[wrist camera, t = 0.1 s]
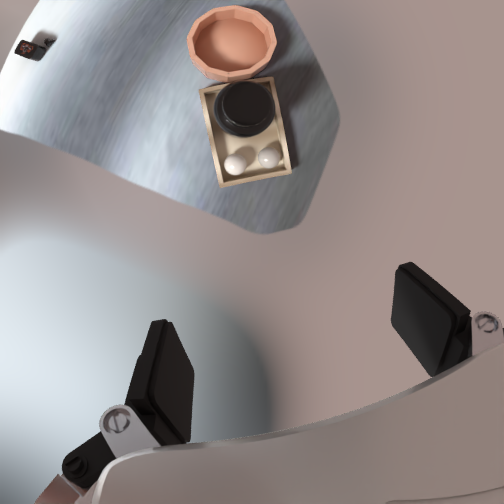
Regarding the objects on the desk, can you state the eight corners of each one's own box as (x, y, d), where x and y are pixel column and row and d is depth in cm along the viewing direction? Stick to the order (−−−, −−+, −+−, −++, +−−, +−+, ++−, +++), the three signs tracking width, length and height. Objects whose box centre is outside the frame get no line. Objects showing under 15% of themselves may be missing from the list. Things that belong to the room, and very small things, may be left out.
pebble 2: (254, 148, 37) (257, 149, 34) (275, 145, 37) (279, 145, 34) (258, 169, 38) (261, 171, 35) (279, 165, 38) (283, 167, 35)
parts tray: (199, 92, 33) (198, 89, 31) (270, 79, 33) (273, 76, 31) (220, 185, 38) (220, 187, 37) (288, 171, 39) (291, 173, 37)
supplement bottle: (259, 88, 33) (274, 66, 22) (270, 133, 36) (290, 130, 25) (210, 98, 33) (205, 80, 22) (222, 143, 36) (220, 144, 25)
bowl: (185, 25, 28) (182, 15, 25) (262, 13, 28) (266, 2, 25) (198, 89, 33) (195, 84, 29) (277, 76, 33) (283, 69, 29)
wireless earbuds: (42, 63, 26) (33, 60, 23) (23, 55, 24) (13, 52, 21) (56, 40, 25) (47, 36, 22) (35, 34, 23) (26, 30, 20)
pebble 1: (222, 155, 37) (222, 156, 34) (243, 151, 37) (245, 151, 34) (226, 175, 38) (226, 178, 35) (247, 171, 38) (249, 173, 35)
